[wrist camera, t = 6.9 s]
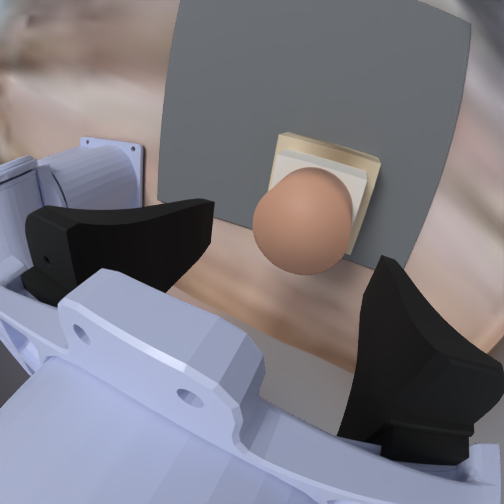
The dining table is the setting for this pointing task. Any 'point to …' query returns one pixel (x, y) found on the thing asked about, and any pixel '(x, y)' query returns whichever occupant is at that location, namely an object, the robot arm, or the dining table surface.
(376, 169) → the tower base
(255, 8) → the mat
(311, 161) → the tower top
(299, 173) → the tan rounded lump
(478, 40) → the dining table surface
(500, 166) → the dining table surface
